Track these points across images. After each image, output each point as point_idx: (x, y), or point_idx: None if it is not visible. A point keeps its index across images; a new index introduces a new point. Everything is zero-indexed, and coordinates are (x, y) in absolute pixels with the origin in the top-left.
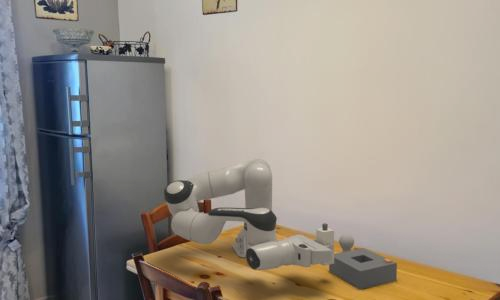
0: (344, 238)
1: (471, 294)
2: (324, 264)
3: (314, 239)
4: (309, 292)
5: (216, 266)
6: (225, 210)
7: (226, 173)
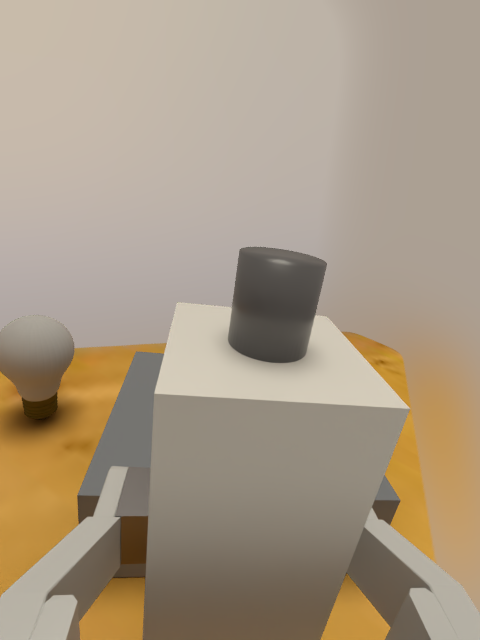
0: (38, 340)
1: (399, 368)
2: None
3: (61, 554)
4: None
5: None
6: None
7: None
